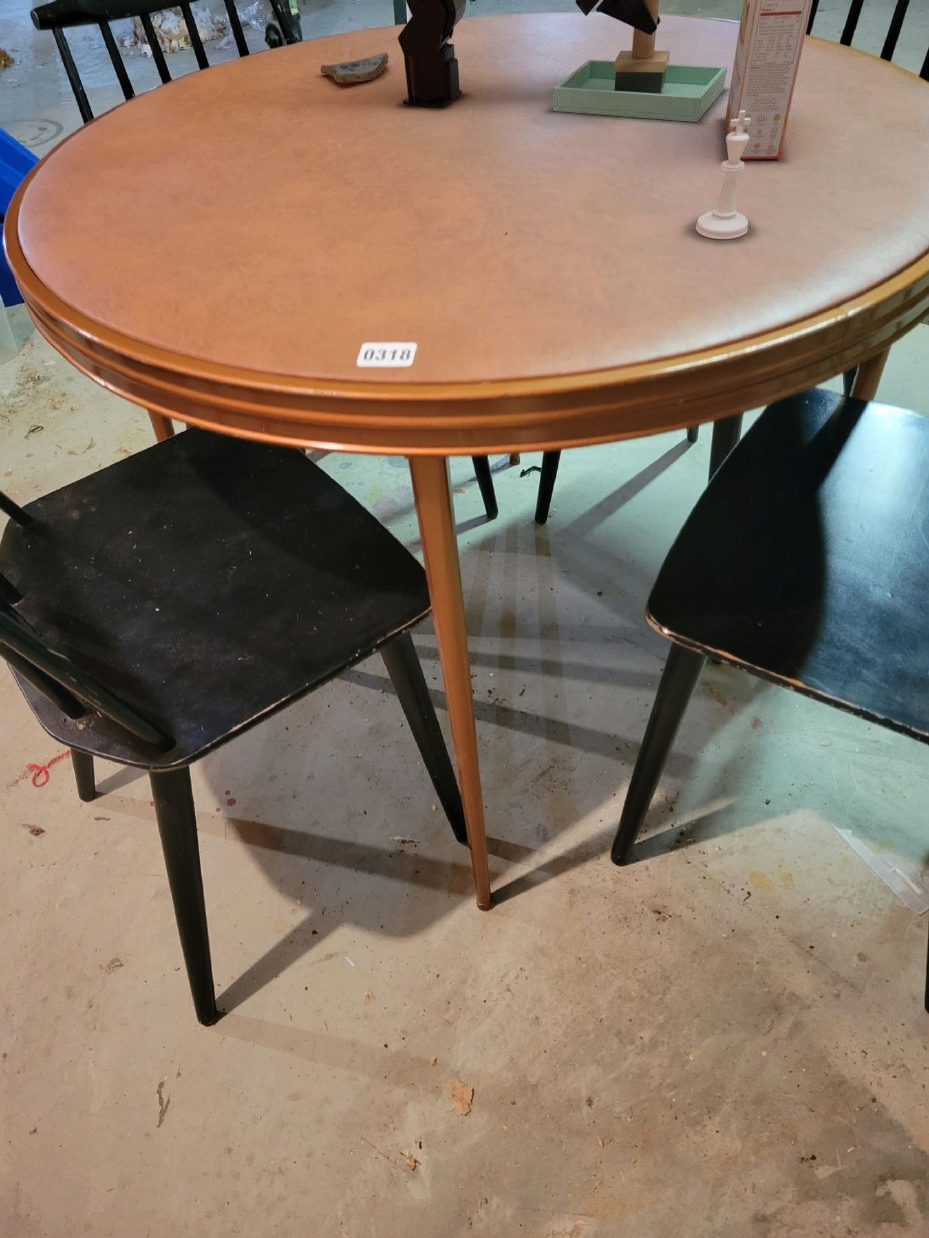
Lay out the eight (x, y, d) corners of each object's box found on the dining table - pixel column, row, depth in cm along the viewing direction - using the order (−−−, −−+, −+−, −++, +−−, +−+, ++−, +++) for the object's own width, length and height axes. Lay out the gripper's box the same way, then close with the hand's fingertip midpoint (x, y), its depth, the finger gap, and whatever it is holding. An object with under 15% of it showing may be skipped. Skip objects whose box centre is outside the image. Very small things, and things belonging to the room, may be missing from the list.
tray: (552, 111, 102) (553, 88, 100) (587, 81, 110) (588, 59, 108) (696, 122, 96) (700, 98, 94) (723, 90, 103) (727, 67, 101)
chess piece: (689, 221, 77) (706, 105, 70) (738, 216, 77) (760, 100, 70) (703, 242, 74) (723, 123, 66) (754, 236, 74) (780, 117, 66)
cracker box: (721, 120, 96) (758, -110, 80) (772, 119, 95) (820, -114, 79) (724, 161, 87) (766, -89, 71) (780, 161, 86) (835, -93, 70)
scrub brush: (612, 95, 101) (619, -3, 93) (618, 83, 104) (625, -12, 96) (661, 95, 100) (672, -3, 92) (666, 84, 103) (677, -12, 95)
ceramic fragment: (330, 77, 113) (316, 50, 119) (334, 101, 116) (319, 73, 121) (400, 65, 115) (383, 39, 120) (402, 88, 118) (385, 62, 123)
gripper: (611, -148, 79) (703, -13, 85) (637, -167, 91) (717, -47, 97) (536, -46, 87) (625, 71, 93) (569, -75, 99) (646, 30, 104)
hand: (655, 28), depth 97 cm, fingers closed on scrub brush, 3 cm apart
